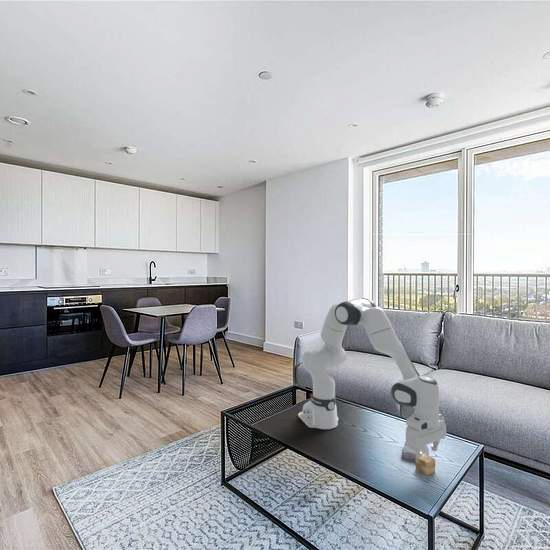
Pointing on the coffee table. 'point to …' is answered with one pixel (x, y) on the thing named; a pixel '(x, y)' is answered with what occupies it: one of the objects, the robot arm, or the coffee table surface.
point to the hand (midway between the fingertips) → (426, 453)
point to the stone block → (412, 452)
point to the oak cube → (425, 464)
